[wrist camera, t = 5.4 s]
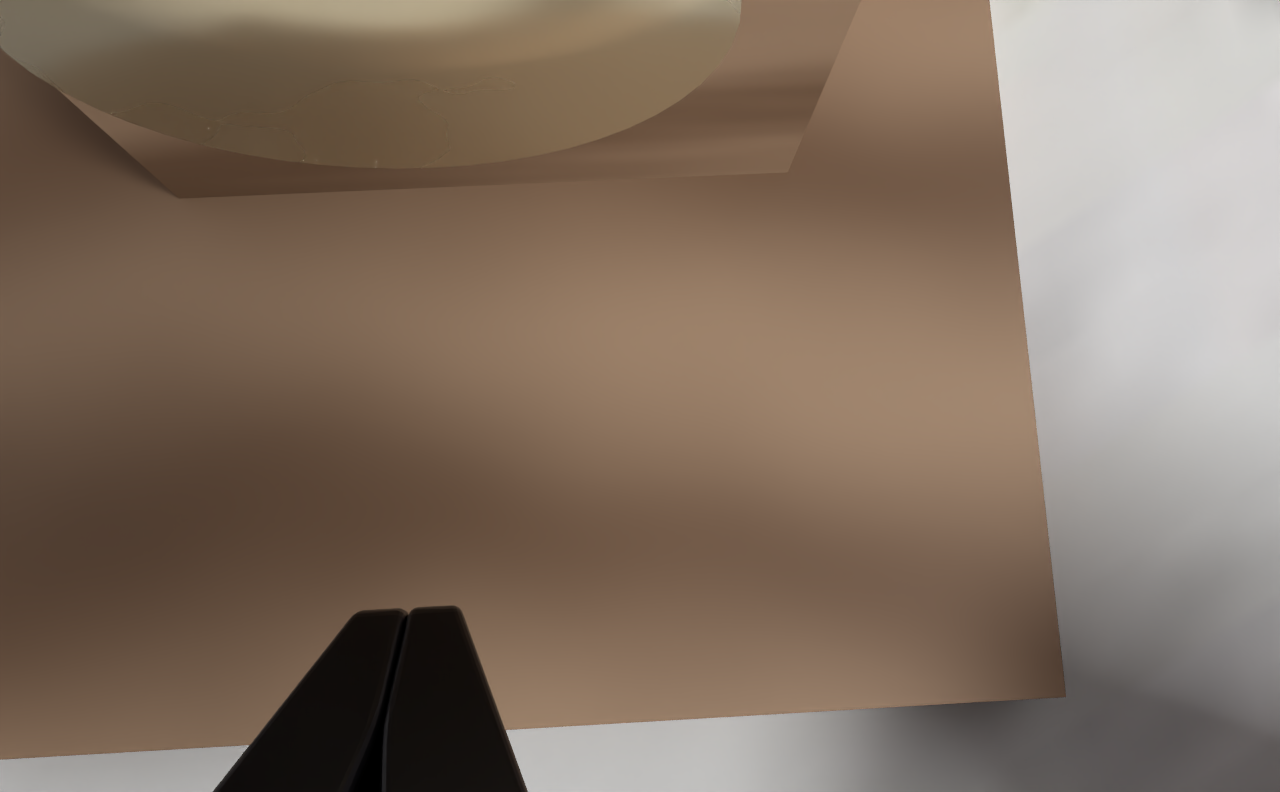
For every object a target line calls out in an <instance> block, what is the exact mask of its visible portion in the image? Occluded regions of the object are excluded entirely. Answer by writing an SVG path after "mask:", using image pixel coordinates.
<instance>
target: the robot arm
mask: <svg viewBox="0 0 1280 792" xmlns="http://www.w3.org/2000/svg"><path fill="white" fill-rule="evenodd" d="M213 792H528V791H527V788H526V786H525V783H524V780H523V777H522V774H521V772H520V769H519V766H518V763H517V761H516V758H515V755H514V752H513V750H512V747H511V744H510V741H509V739H508V736H507V733H506V730H505V728H504V725H503V722H502V719H501V717H500V714H499V711H498V708H497V706H496V703H495V700H494V697H493V695H492V692H491V689H490V686H489V684H488V681H487V678H486V675H485V673H484V670H483V667H482V664H481V662H480V659H479V656H478V653H477V651H476V648H475V645H474V642H473V640H472V637H471V634H470V631H469V629H468V626H467V623H466V620H465V618H464V615H463V613H462V610H461V609H460V608H459V607H457V606H455V605H447V606H429V607H416V608H414V609H412V610H411V611H410V613H409V614H408V613H407V611H405V610H403V609H401V608H392V609H375V610H362V611H359V612H357V613H355V614H354V615H353V616H352V617H351V618H350V619H349V620H348V622H347V623H346V624H345V625H344V627H343V628H342V629H341V630H340V632H339V633H338V634H337V635H336V637H335V638H334V639H333V640H332V642H331V643H330V644H329V646H328V647H327V648H326V649H325V651H324V652H323V653H322V654H321V656H320V657H319V658H318V659H317V661H316V662H315V663H314V665H313V666H312V667H311V668H310V670H309V671H308V672H307V673H306V675H305V676H304V677H303V678H302V680H301V681H300V682H299V683H298V685H297V686H296V687H295V689H294V690H293V691H292V692H291V694H290V695H289V696H288V697H287V699H286V700H285V701H284V702H283V704H282V705H281V706H280V707H279V709H278V710H277V711H276V713H275V714H274V715H273V716H272V718H271V719H270V720H269V721H268V723H267V724H266V725H265V726H264V728H263V729H262V730H261V732H260V733H259V734H258V735H257V737H256V738H255V739H254V740H253V742H252V743H251V744H250V745H249V747H248V748H247V749H246V750H245V752H244V753H243V754H242V756H241V757H240V758H239V759H238V761H237V762H236V763H235V764H234V766H233V767H232V768H231V769H230V771H229V772H228V773H227V775H226V776H225V777H224V778H223V780H222V781H221V782H220V783H219V785H218V786H217V787H216V788H215V790H214V791H213Z"/></svg>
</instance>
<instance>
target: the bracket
mask: <svg viewBox="0 0 1280 792" xmlns="http://www.w3.org/2000/svg"><path fill="white" fill-rule="evenodd" d="M447 605H455V606H457V607H459V608H460V609H461V610H462V613H463V615H464V618H465V620H466V623H467V626H468V629H469V631H470V634H471V637H472V640H473V642H474V645H475V648H476V651H477V653H478V656H479V659H480V662H481V664H482V667H483V670H484V673H485V675H486V678H487V681H488V684H489V686H490V689H491V692H492V695H493V697H494V700H495V703H496V706H497V708H498V711H499V714H500V717H501V719H502V722H503V725H504V728H505V730H512V729H529V728H546V727H563V726H580V725H597V724H614V723H631V722H648V721H665V720H682V719H699V718H716V717H733V716H750V715H768V714H785V713H802V712H819V711H836V710H853V709H870V708H887V707H904V706H921V705H938V704H955V703H972V702H989V701H1006V700H1023V699H1040V698H1057V697H1066V692H1065V683H1064V674H1063V665H1062V656H1061V647H1060V637H1059V628H1058V619H1057V610H1056V601H1055V592H1054V583H1053V574H1052V565H1051V556H1050V547H1049V538H1048V528H1047V519H1046V510H1045V501H1044V492H1043V483H1042V474H1041V465H1040V456H1039V447H1038V438H1037V429H1036V420H1035V410H1034V401H1033V392H1032V383H1031V374H1030V365H1029V356H1028V347H1027V338H1026V329H1025V320H1024V311H1023V302H1022V292H1021V283H1020V274H1019V265H1018V256H1017V247H1016V238H1015V229H1014V220H1013V211H1012V202H1011V193H1010V184H1009V174H1008V165H1007V156H1006V147H1005V138H1004V129H1003V120H1002V111H1001V102H1000V93H999V84H998V75H997V66H996V56H995V47H994V38H993V29H992V20H991V11H990V2H989V0H742V2H741V13H740V23H739V26H738V29H737V32H736V34H735V37H734V40H733V43H732V45H731V47H730V48H729V50H728V52H727V53H726V55H725V56H724V58H723V59H722V61H721V63H720V64H719V66H718V67H717V68H716V69H715V70H714V71H713V72H712V73H711V74H710V75H709V76H708V77H707V78H706V79H705V80H704V82H703V83H702V84H700V85H699V86H698V87H697V88H695V89H694V90H693V91H692V92H690V93H689V94H688V95H687V96H685V97H684V98H683V99H681V100H680V101H678V102H677V103H675V104H674V105H672V106H670V107H669V108H667V109H665V110H664V111H662V112H660V113H659V114H657V115H655V116H653V117H651V118H649V119H647V120H645V121H643V122H641V123H638V124H636V125H634V126H632V127H630V128H628V129H625V130H622V131H620V132H617V133H614V134H612V135H609V136H607V137H604V138H601V139H598V140H595V141H591V142H588V143H585V144H581V145H578V146H575V147H571V148H568V149H563V150H559V151H555V152H550V153H546V154H542V155H537V156H531V157H525V158H520V159H514V160H508V161H502V162H493V163H484V164H476V165H467V166H452V167H437V168H397V169H393V168H356V167H343V166H329V165H317V164H308V163H300V162H291V161H283V160H276V159H270V158H264V157H258V156H252V155H246V154H241V153H236V152H232V151H227V150H223V149H218V148H213V147H209V146H204V145H201V144H197V143H193V142H190V141H186V140H182V139H179V138H175V137H171V136H168V135H165V134H162V133H159V132H156V131H153V130H150V129H147V128H144V127H141V126H138V125H135V124H132V123H129V122H127V121H124V120H122V119H120V118H117V117H115V116H112V115H110V114H107V113H105V112H103V111H100V110H98V109H95V108H93V107H91V106H89V105H87V104H85V103H83V102H81V101H79V100H77V99H75V98H73V97H71V96H69V95H67V94H65V93H63V92H61V91H60V90H58V89H57V88H55V87H53V86H52V85H50V84H48V83H47V82H45V81H44V80H42V79H40V78H39V77H37V76H35V75H34V74H32V73H31V72H29V71H28V70H27V69H26V68H24V67H23V66H22V65H20V64H19V63H18V62H17V61H15V60H14V59H13V58H11V57H10V56H9V55H8V54H6V53H5V52H4V51H3V50H2V49H1V48H0V759H17V758H35V757H52V756H69V755H86V754H103V753H120V752H137V751H154V750H171V749H188V748H205V747H222V746H239V745H250V744H251V743H252V742H253V740H254V739H255V738H256V737H257V735H258V734H259V733H260V732H261V730H262V729H263V728H264V726H265V725H266V724H267V723H268V721H269V720H270V719H271V718H272V716H273V715H274V714H275V713H276V711H277V710H278V709H279V707H280V706H281V705H282V704H283V702H284V701H285V700H286V699H287V697H288V696H289V695H290V694H291V692H292V691H293V690H294V689H295V687H296V686H297V685H298V683H299V682H300V681H301V680H302V678H303V677H304V676H305V675H306V673H307V672H308V671H309V670H310V668H311V667H312V666H313V665H314V663H315V662H316V661H317V659H318V658H319V657H320V656H321V654H322V653H323V652H324V651H325V649H326V648H327V647H328V646H329V644H330V643H331V642H332V640H333V639H334V638H335V637H336V635H337V634H338V633H339V632H340V630H341V629H342V628H343V627H344V625H345V624H346V623H347V622H348V620H349V619H350V618H351V617H352V616H353V615H354V614H355V613H357V612H359V611H362V610H375V609H392V608H401V609H403V610H405V611H407V613H408V614H409V613H410V611H411V610H412V609H414V608H416V607H429V606H447Z"/></svg>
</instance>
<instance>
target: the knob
mask: <svg viewBox="0 0 1280 792" xmlns="http://www.w3.org/2000/svg"><path fill="white" fill-rule="evenodd" d="M741 2H742V0H0V48H1V49H2V50H3V51H4V52H5V53H6V54H8V55H9V56H10V57H11V58H13V59H14V60H15V61H17V62H18V63H19V64H20V65H22V66H23V67H24V68H26V69H27V70H28V71H29V72H31V73H32V74H34V75H35V76H37V77H39V78H40V79H42V80H44V81H45V82H47V83H48V84H50V85H52V86H53V87H55V88H57V89H58V90H60V91H61V92H63V93H65V94H67V95H69V96H71V97H73V98H75V99H77V100H79V101H81V102H83V103H85V104H87V105H89V106H91V107H93V108H95V109H98V110H100V111H103V112H105V113H107V114H110V115H112V116H115V117H117V118H120V119H122V120H124V121H127V122H129V123H132V124H135V125H138V126H141V127H144V128H147V129H150V130H153V131H156V132H159V133H162V134H165V135H168V136H171V137H175V138H179V139H182V140H186V141H190V142H193V143H197V144H201V145H204V146H209V147H213V148H218V149H223V150H227V151H232V152H236V153H241V154H246V155H252V156H258V157H264V158H270V159H276V160H283V161H291V162H300V163H308V164H317V165H329V166H343V167H356V168H393V169H397V168H437V167H452V166H467V165H476V164H484V163H493V162H502V161H508V160H514V159H520V158H525V157H531V156H537V155H542V154H546V153H550V152H555V151H559V150H563V149H568V148H571V147H575V146H578V145H581V144H585V143H588V142H591V141H595V140H598V139H601V138H604V137H607V136H609V135H612V134H614V133H617V132H620V131H622V130H625V129H628V128H630V127H632V126H634V125H636V124H638V123H641V122H643V121H645V120H647V119H649V118H651V117H653V116H655V115H657V114H659V113H660V112H662V111H664V110H665V109H667V108H669V107H670V106H672V105H674V104H675V103H677V102H678V101H680V100H681V99H683V98H684V97H685V96H687V95H688V94H689V93H690V92H692V91H693V90H694V89H695V88H697V87H698V86H699V85H700V84H702V83H703V82H704V80H705V79H706V78H707V77H708V76H709V75H710V74H711V73H712V72H713V71H714V70H715V69H716V68H717V67H718V66H719V64H720V63H721V61H722V59H723V58H724V56H725V55H726V53H727V52H728V50H729V48H730V47H731V45H732V43H733V40H734V37H735V34H736V32H737V29H738V26H739V23H740V13H741Z"/></svg>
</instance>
